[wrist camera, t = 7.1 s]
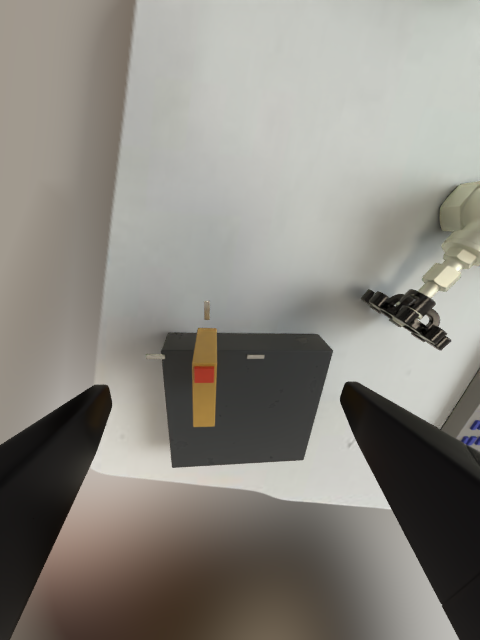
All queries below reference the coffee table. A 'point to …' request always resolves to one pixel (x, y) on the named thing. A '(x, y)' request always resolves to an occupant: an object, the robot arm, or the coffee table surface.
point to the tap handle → (204, 377)
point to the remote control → (467, 416)
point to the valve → (438, 269)
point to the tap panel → (245, 397)
